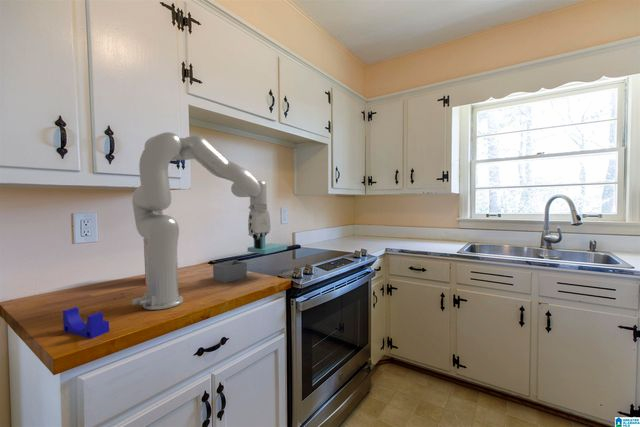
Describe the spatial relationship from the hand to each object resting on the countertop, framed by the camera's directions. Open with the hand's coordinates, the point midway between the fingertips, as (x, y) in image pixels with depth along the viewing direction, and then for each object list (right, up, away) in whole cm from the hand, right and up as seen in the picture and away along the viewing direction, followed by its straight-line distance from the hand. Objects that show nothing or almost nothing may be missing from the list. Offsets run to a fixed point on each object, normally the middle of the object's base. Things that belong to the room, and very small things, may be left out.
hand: (259, 247), depth 135 cm
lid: (+3, -2, +4) cm, 5 cm away
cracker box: (-48, -15, -2) cm, 50 cm away
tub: (-14, -15, +2) cm, 21 cm away
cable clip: (-37, -18, -53) cm, 68 cm away
